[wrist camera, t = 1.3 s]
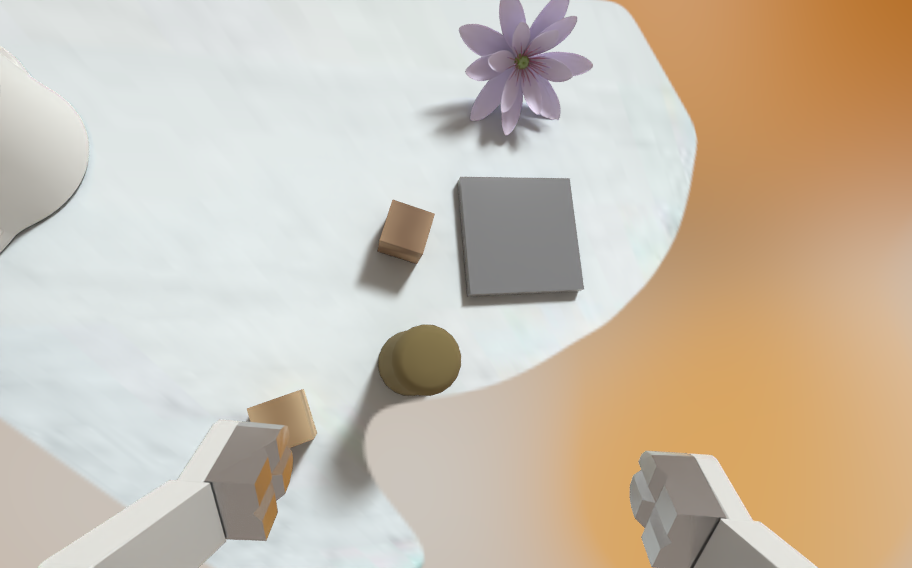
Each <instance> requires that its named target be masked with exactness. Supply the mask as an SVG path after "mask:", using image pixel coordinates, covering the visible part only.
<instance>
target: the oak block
mask: <svg viewBox="0 0 912 568" xmlns="http://www.w3.org/2000/svg"><path fill="white" fill-rule="evenodd" d="M247 411H248V415H249V418H250V422H256V423H266V424H276V425H285V426H288V429H289V434H290V438H289V441H288V443H287V445H286V446H287V447H289V448H292V447H294V446H297V445H300V444H302V443H305V442H307V441H310V440H313V439H314V438H315V436H316V434H317V431H316V428H315V425H314V421H313V418H312V415H311V412H310V408H309V405H308V402H307V399H306V395H305V392H304V389H302V390H299V391H296V392H293V393H290V394H287V395H284V396H281V397H279V398H276V399H273V400H270V401H267V402H264V403H262V404H259V405H256V406H253V407H250V408H247Z"/></svg>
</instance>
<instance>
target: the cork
mask: <svg viewBox="0 0 912 568" xmlns="http://www.w3.org/2000/svg"><path fill="white" fill-rule="evenodd" d="M460 367H461V354H460V350H459V346H458V344H457V343H456V341H455V339H454V338H453V336H452V335H450V334H449V333H448V332H447V331H446V330H444V329H442V328H440V327H437V326H435V325H420V326H416V327H412V328H411V329H409V330H407V331H404V332H400V333H397V334H396V335H394V336H392V337H391V338H389V339H388V341H387V342H386V343H385V344H384V346H383V347H382V349H381V352H380V355H379V361H378V368H379V372H380V376H381V378H382V379H383V381H384V383H385V384H386V386H388V387H389V388H390V389H391V390H393V391H394V392H396V393H399V394H402V395H408V396H415V395H424V396H431V395H435V394H438V393H441V392H443V391H444V390H446V389H447V388H448V387H450V386H451V385H452V383H453V382H454V381H455V379H456V378H457V376H458V373H459V370H460Z"/></svg>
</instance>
